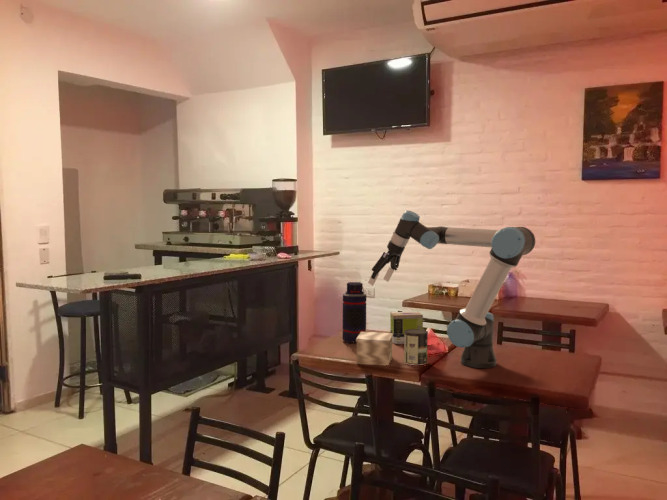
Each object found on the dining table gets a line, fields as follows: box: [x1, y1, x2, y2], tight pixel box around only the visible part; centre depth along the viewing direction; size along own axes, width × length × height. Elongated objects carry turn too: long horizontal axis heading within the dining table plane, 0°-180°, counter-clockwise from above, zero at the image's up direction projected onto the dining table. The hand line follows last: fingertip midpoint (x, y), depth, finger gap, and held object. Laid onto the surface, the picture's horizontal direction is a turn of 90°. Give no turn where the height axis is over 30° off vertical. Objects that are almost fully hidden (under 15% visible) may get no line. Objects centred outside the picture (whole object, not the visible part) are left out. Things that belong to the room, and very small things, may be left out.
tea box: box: [389, 311, 424, 345], centre depth 286 cm, size 15×10×15 cm, turn 94°
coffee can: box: [403, 329, 429, 365], centre depth 247 cm, size 10×10×14 cm
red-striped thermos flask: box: [341, 281, 367, 344], centre depth 286 cm, size 14×12×30 cm
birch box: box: [356, 331, 393, 366], centre depth 250 cm, size 15×15×11 cm
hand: (378, 282), depth 261 cm, fingers open, 13 cm apart
